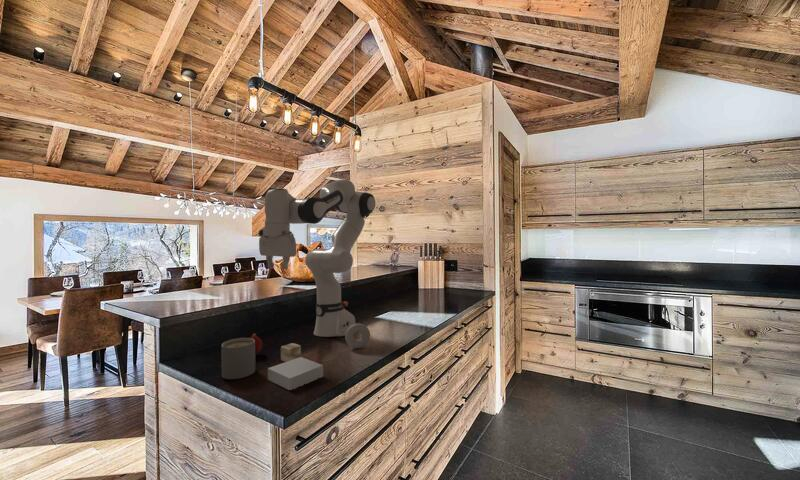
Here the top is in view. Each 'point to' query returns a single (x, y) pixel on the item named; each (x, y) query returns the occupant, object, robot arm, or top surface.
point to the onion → (257, 343)
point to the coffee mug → (238, 358)
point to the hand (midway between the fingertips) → (277, 268)
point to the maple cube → (290, 352)
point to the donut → (352, 330)
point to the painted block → (295, 373)
